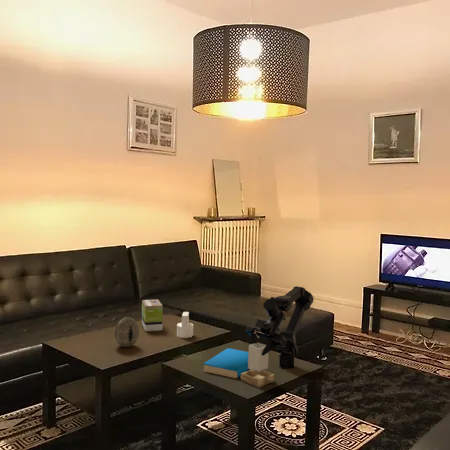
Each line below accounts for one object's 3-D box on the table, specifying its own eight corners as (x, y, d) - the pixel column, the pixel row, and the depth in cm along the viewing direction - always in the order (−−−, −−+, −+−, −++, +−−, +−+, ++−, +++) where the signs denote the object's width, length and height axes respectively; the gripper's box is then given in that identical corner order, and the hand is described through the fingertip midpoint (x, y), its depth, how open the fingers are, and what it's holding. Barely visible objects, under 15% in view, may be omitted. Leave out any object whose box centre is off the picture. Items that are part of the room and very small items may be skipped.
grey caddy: (257, 365, 212) (257, 342, 211) (267, 368, 208) (268, 345, 207) (247, 368, 207) (248, 345, 207) (258, 372, 203) (259, 348, 203)
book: (203, 363, 217) (227, 347, 239) (202, 373, 217) (227, 355, 240) (238, 370, 209) (260, 353, 232) (238, 380, 210) (259, 362, 232)
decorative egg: (112, 344, 249) (112, 315, 248) (134, 341, 255) (135, 313, 253) (118, 351, 239) (118, 321, 238) (141, 348, 244) (142, 319, 243)
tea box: (141, 324, 288) (141, 299, 287) (158, 323, 291) (158, 298, 290) (144, 331, 274) (145, 305, 273) (162, 330, 277) (163, 304, 276)
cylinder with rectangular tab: (192, 338, 264) (193, 316, 263) (175, 337, 264) (176, 315, 264) (193, 333, 273) (194, 312, 272) (177, 332, 273) (178, 311, 273)
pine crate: (255, 374, 215) (256, 368, 215) (274, 381, 208) (274, 374, 208) (240, 380, 208) (240, 373, 207) (258, 387, 201) (259, 380, 201)
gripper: (249, 307, 215) (231, 337, 208) (283, 316, 202) (265, 348, 195) (260, 322, 221) (243, 351, 214) (294, 331, 209) (277, 362, 201)
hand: (256, 353), depth 206 cm, fingers closed on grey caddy, 6 cm apart
